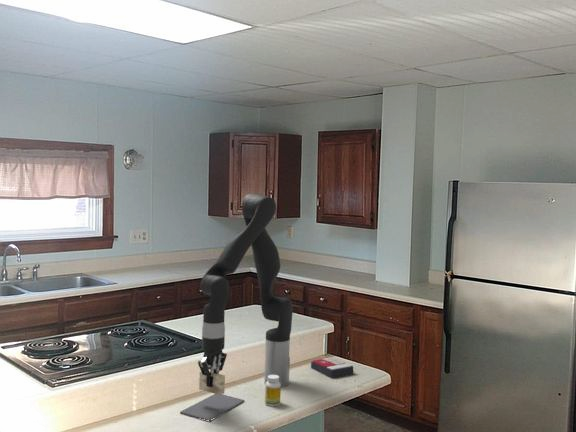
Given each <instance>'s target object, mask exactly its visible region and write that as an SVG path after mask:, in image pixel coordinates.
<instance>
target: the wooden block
mask: <svg viewBox="0 0 576 432" xmlns="http://www.w3.org/2000/svg"><path fill="white" fill-rule="evenodd" d="M206 378H207V377H206V375H202V372H201V371H199V378H198V379H199V381H198V386H199V387H198V390H199V391H204V392H208V393H212V394H219V395H222V394H223V395H225V392H226V391H225V390H226V389H225V388H226V387H225V385H226V384H225V382H226V376H225V375H223V374H220V373H219V374H216V373H213V387H207V385H206Z"/></svg>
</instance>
